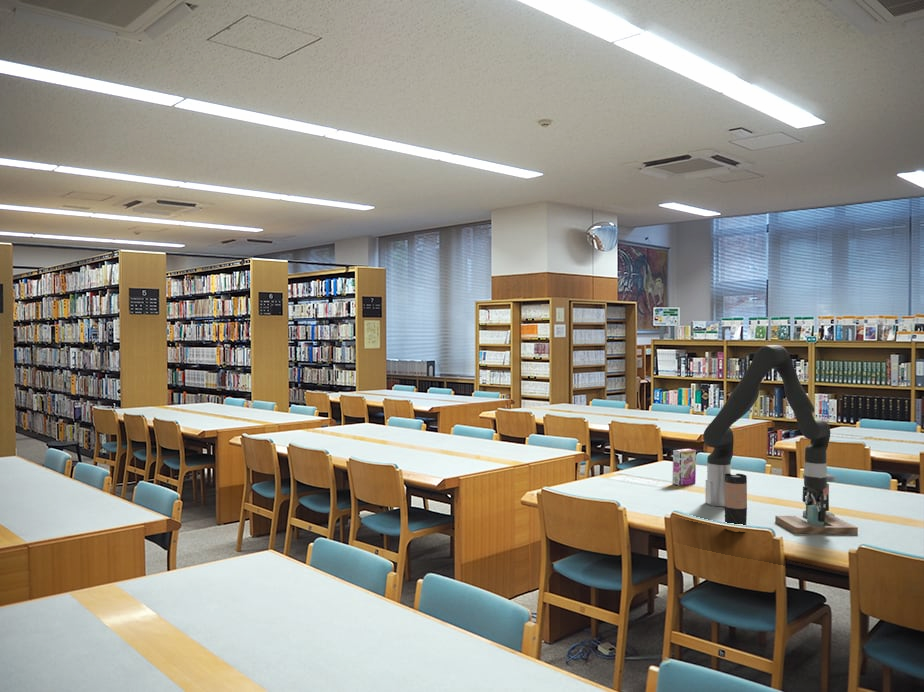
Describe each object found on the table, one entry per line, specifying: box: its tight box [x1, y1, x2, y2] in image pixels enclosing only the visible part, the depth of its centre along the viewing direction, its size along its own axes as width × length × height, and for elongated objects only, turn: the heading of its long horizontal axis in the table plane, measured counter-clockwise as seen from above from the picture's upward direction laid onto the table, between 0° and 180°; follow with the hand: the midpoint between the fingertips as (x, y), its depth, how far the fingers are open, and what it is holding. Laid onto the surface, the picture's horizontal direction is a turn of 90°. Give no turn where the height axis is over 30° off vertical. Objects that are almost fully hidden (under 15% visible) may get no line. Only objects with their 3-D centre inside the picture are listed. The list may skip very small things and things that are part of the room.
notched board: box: [774, 515, 859, 535], centre depth 251 cm, size 22×16×2 cm
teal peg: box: [806, 505, 824, 526], centre depth 251 cm, size 4×4×8 cm
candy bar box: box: [671, 448, 697, 487], centre depth 326 cm, size 11×5×16 cm, turn 122°
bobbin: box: [802, 472, 836, 519], centre depth 265 cm, size 11×11×16 cm
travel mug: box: [723, 473, 748, 526], centre depth 249 cm, size 8×8×20 cm
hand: (815, 518), depth 251 cm, fingers open, 8 cm apart
